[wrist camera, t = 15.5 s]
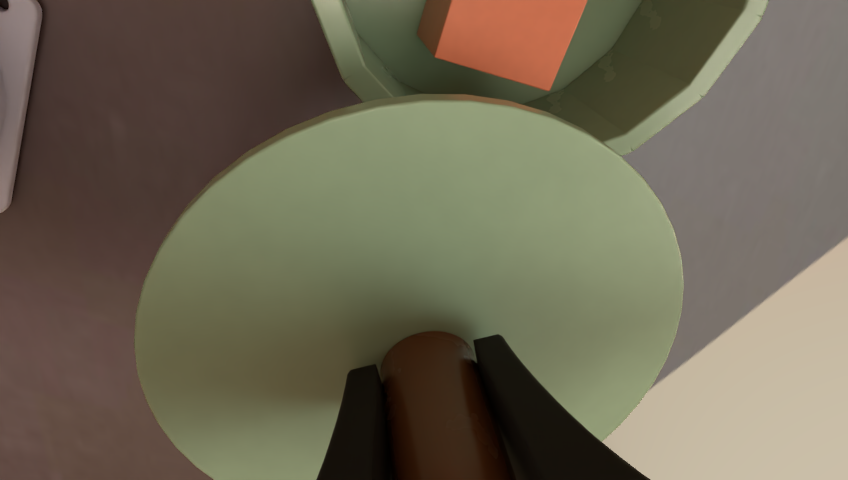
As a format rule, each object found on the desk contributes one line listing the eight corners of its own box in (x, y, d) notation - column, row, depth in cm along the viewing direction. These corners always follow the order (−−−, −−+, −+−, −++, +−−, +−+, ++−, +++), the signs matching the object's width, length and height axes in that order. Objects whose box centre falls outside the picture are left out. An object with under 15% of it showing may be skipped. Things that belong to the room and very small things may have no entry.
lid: (182, 506, 16) (125, 733, 12) (95, 56, 9) (-121, 179, 5) (584, 477, 19) (665, 653, 14) (743, 108, 12) (993, 220, 7)
